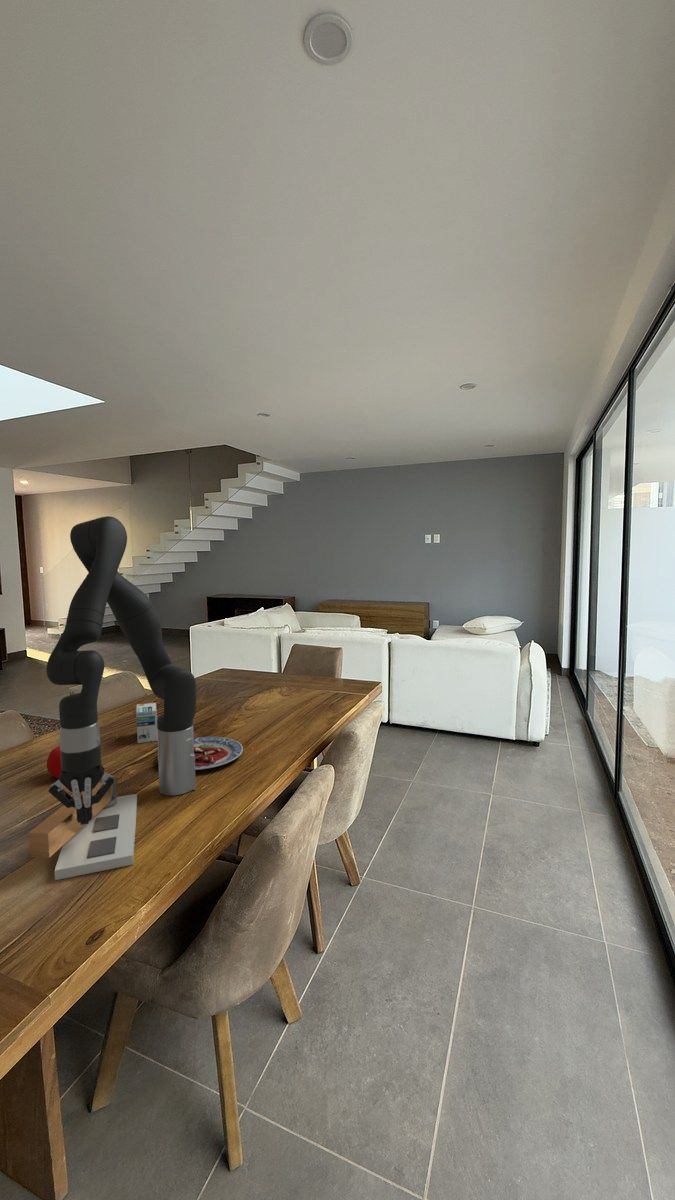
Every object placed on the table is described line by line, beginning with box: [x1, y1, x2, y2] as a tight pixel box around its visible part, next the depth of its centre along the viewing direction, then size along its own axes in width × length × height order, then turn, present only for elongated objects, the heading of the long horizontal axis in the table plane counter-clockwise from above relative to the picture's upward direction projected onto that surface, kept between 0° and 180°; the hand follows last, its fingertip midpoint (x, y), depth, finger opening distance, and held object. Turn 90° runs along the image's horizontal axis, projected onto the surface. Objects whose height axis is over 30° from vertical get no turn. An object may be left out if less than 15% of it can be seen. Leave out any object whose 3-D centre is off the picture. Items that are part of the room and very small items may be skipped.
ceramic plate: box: [194, 736, 244, 771], centre depth 154 cm, size 26×26×3 cm
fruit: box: [46, 746, 61, 779], centre depth 141 cm, size 9×9×10 cm
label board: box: [54, 793, 138, 881], centre depth 111 cm, size 14×28×3 cm, turn 21°
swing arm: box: [28, 774, 119, 859], centre depth 110 cm, size 4×26×5 cm, turn 176°
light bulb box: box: [135, 702, 158, 744], centre depth 171 cm, size 11×7×11 cm, turn 22°
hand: (84, 822), depth 105 cm, fingers closed
